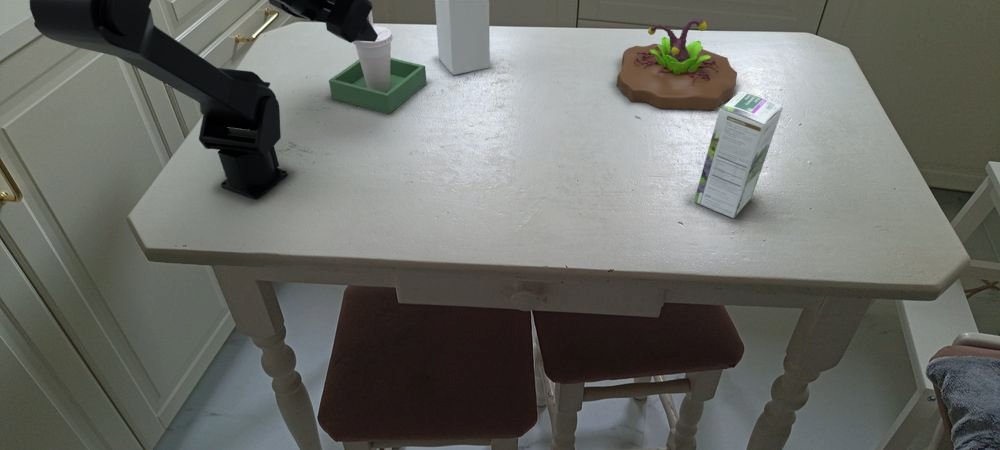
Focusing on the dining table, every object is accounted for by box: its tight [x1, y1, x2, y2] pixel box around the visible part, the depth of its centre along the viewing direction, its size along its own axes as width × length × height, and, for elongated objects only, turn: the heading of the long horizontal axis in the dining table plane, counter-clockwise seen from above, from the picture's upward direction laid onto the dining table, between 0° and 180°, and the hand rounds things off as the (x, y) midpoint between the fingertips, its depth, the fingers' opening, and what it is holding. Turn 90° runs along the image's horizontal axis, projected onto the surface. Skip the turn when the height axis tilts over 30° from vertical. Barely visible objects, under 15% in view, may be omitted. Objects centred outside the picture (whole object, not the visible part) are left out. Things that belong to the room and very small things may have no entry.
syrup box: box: [693, 91, 784, 219], centre depth 81 cm, size 6×6×14 cm
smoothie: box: [352, 9, 394, 93], centre depth 103 cm, size 6×6×14 cm
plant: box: [616, 18, 738, 111], centre depth 107 cm, size 20×20×11 cm
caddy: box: [328, 57, 427, 115], centre depth 107 cm, size 11×11×3 cm
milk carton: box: [434, 0, 491, 76], centre depth 109 cm, size 7×7×19 cm
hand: (356, 29), depth 99 cm, fingers open, 9 cm apart
